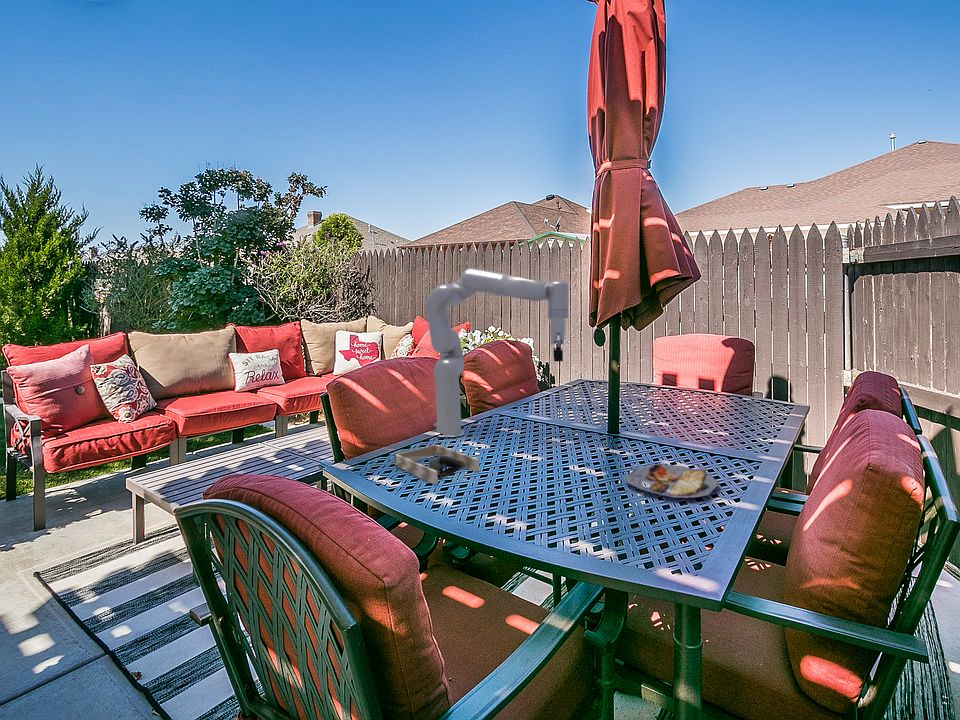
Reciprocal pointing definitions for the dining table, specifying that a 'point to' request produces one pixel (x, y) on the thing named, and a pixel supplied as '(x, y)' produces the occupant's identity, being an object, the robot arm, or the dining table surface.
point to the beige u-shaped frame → (424, 472)
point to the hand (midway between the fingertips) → (558, 359)
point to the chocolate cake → (446, 465)
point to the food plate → (665, 475)
